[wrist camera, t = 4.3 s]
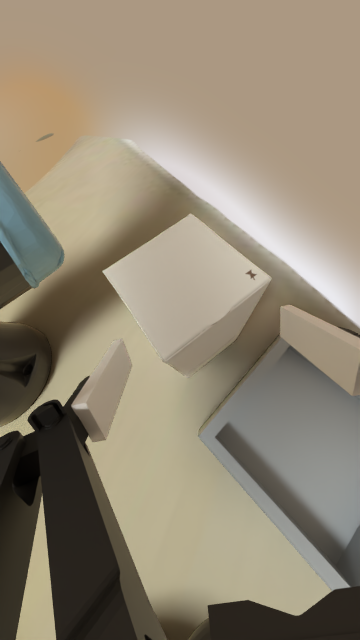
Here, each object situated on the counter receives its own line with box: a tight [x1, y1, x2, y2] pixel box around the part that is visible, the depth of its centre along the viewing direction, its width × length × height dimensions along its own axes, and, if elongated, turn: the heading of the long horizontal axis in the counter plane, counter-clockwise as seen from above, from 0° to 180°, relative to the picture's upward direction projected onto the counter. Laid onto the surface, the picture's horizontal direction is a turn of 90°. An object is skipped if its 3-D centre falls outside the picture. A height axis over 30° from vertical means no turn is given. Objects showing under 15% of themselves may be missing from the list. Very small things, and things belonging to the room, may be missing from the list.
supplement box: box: [102, 214, 272, 378], centre depth 19 cm, size 9×9×15 cm
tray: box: [198, 335, 360, 591], centre depth 19 cm, size 16×16×4 cm
